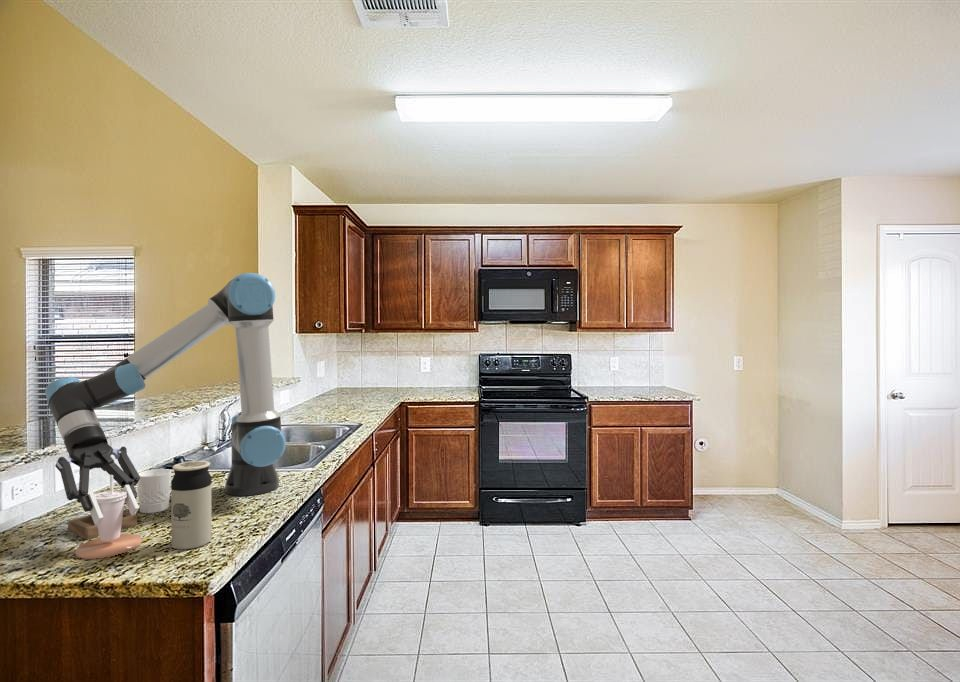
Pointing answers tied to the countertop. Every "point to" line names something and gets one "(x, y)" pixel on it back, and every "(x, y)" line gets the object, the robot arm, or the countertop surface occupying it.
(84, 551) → the coaster
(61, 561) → the countertop surface
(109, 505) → the smoothie
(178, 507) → the travel mug
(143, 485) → the white cup
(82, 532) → the brown square wooden frame
